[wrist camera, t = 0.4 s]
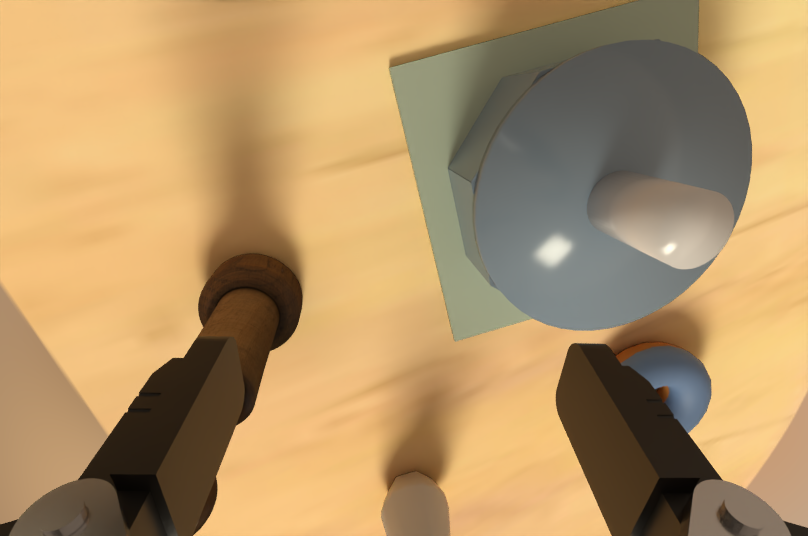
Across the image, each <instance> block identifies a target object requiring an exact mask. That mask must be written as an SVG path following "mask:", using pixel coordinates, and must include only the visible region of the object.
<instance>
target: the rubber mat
mask: <svg viewBox="0 0 808 536" xmlns="http://www.w3.org/2000/svg"><path fill="white" fill-rule="evenodd" d="M698 23H699V0H638V1H634V2H631V3H627V4H623V5H620V6H616V7H612V8H608V9H605V10H601V11H597V12H594V13H590V14H586V15H583V16H579V17H575V18H572V19H568V20H564V21H560V22H557V23H553V24H549V25H546V26H542V27H538V28H535V29H531V30H527V31H524V32H520V33H516V34H513V35H509V36H505V37H501V38H498V39H494V40H490V41H487V42H483V43H479V44H476V45H472V46H468V47H465V48H461V49H457V50H453V51H450V52H446V53H442V54H439V55H435V56H431V57H428V58H424V59H420V60H417V61H413V62H409V63H405V64H402V65H398V66H394V67H391V68H389V71H390V75H391V79H392V83H393V87H394V92H395V96H396V100H397V104H398V108H399V112H400V117H401V121H402V125H403V129H404V133H405V137H406V142H407V146H408V150H409V154H410V158H411V162H412V167H413V171H414V175H415V179H416V183H417V187H418V192H419V196H420V200H421V204H422V208H423V212H424V217H425V221H426V225H427V229H428V233H429V237H430V242H431V246H432V250H433V254H434V258H435V262H436V267H437V271H438V275H439V279H440V283H441V288H442V292H443V296H444V300H445V304H446V308H447V313H448V317H449V321H450V325H451V329H452V333H453V338H454V340H455V342H456V341H459V340H462V339H466V338H469V337H472V336H476V335H479V334H482V333H486V332H489V331H492V330H496V329H499V328H503V327H506V326H509V325H513V324H516V323H519V322H523V321H526V320H529V319H533V318H531V317H530V316H528V315H526V314H525V313H523V312H522V311H520V310H519V309H518V308H517V307H515V306H514V305H513V304H512V303H511V302H510V301H508V299H507V298H506V297H505V296H504V295H503V294H502V292H501V291H499V290H498V289H496V288H494V287H492V286H491V285H490V284H489V283H488V282H487V281H486V279H485V278H484V277H483V276H482V275H481V273H480V272H479V271H478V270H477V269H476V267H475V266H474V265H473V264H472V262H471V261H470V260H469V259H468V258H467V256H466V255H465V250H464V245H463V240H462V236H461V231H460V226H459V221H458V216H457V212H456V207H455V202H454V197H453V192H452V188H451V183H450V178H449V173H448V166H449V165H450V163H451V161H452V160H453V158H454V156H455V155H456V153H457V151H458V150H459V148H460V146H461V145H462V143H463V141H464V140H465V138H466V136H467V135H468V133H469V131H470V130H471V128H472V126H473V125H474V123H475V121H476V120H477V118H478V116H479V115H480V113H481V111H482V110H483V108H484V106H485V105H486V103H487V101H488V100H489V98H490V96H491V95H492V93H493V91H494V90H495V88H496V86H497V85H498V83H499V81H500V80H501V78H503V77H505V76H508V75H512V74H516V73H519V72H523V71H526V70H530V69H534V68H537V67H541V66H545V65H548V64H552V63H556V62H559V61H563V60H567V59H569V58H571V57H573V56H575V55H577V54H579V53H582V52H585V51H587V50H590V49H593V48H596V47H599V46H603V45H608V44H613V43H618V42H623V41H628V40H655V39H660V40H661V41H665V42H670V43H673V44H677V45H680V46H683V47H686V48H688V49H690V50H692V51H694V52H696V53H698Z"/></svg>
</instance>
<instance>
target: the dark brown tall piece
mask: <svg viewBox="0 0 808 536" xmlns="http://www.w3.org/2000/svg"><path fill="white" fill-rule="evenodd" d="M301 309H302V291H301V288H300V285H299V282H298V280H297V279H296V277H295V275H294V274H293V273H292V272H291V271H290V269H289V268H287V267H286V266H285V265H284V264H283V263H281V262H279V261H278V260H276V259H274V258H271V257H268V256H265V255H260V254H244V255H239V256H236V257H233V258H231V259H229V260H227V261H226V262H224V263H223V264H222V265H221V266H220V267H218V269H217V270H216V271H215V272H214V273H213V275H212V276H211V278H210V279H209V280H208V282H207V283H206V285H205V286H204V288H203V290H202V292H201V295H200V298H199V304H198V311H199V317H200V320H201V323H202V325H203V327H204V328H203V329H202V331H201V332H200V334H199V335H198V337H199V336H228V337H234V338H235V340H236V343H237V348H238V353H239V359H240V364H241V370H242V375H243V381H244V388H245V394H244V403H243V408H242V411H241V414H240V417H239V419H238V422H237V424H236V425H238V424H240V423H241V422H243V421H244V420H245V419H246V418H247V417H248V416H249V415H250V413H251V412H252V410H253V408H254V405H255V401H256V398H257V394H258V390H259V386H260V383H261V379H262V376H263V372H264V369H265V365H266V362H267V358H268V355H269V352H270V351H271V350H274V349H276V348H278V347H279V346H281V345H282V344H284V343H285V342H286V341H287V340H288V339H289V338H290V337H291V336H292V334H293V333H294V331H295V329H296V327H297V325H298V322H299V318H300V313H301ZM198 337H197V338H198ZM216 497H217V480H216V478H215V480H214V483H213V485H212V488H211V490H210V493H209V495H208V498H207V500H206V503H205V506H204V508H203V511H202V513H201V516H200V518H199V521H198V523H197V526H196V528H195V531H194V534H195V533H196V532H197V531H198V530H199V529H200V528H201V527H202V526H203V525H204V523H205V522H206V521H207V519H208V517H209V516H210V514H211V512H212V510H213V507H214V505H215V501H216ZM194 534H193V535H194Z"/></svg>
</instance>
